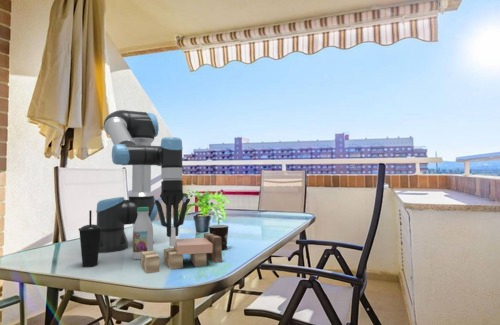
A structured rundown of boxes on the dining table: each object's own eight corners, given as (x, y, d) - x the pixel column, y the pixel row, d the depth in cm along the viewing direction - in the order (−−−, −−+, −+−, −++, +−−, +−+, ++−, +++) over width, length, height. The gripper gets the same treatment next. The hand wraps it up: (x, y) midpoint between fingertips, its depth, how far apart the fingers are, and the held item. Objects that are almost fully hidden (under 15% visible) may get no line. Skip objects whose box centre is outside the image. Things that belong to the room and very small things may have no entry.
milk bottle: (144, 254, 130) (144, 206, 131) (157, 256, 126) (157, 206, 127) (128, 258, 123) (128, 207, 124) (141, 260, 119) (141, 208, 120)
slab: (173, 246, 118) (173, 238, 118) (204, 245, 122) (205, 237, 122) (177, 254, 105) (177, 245, 105) (212, 252, 109) (212, 244, 109)
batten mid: (163, 262, 115) (163, 248, 115) (174, 261, 117) (174, 247, 117) (171, 269, 105) (171, 254, 106) (182, 267, 107) (182, 253, 108)
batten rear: (141, 265, 111) (141, 251, 111) (152, 264, 113) (152, 250, 113) (146, 273, 101) (146, 257, 102) (159, 271, 103) (159, 256, 104)
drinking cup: (79, 264, 116) (80, 210, 117) (102, 262, 118) (102, 209, 120) (76, 269, 109) (77, 211, 110) (100, 266, 111) (100, 210, 113)
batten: (190, 259, 119) (190, 247, 119) (200, 258, 120) (200, 246, 121) (195, 266, 109) (194, 252, 109) (206, 265, 110) (206, 251, 110)
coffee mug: (219, 246, 142) (218, 224, 143) (233, 248, 137) (232, 225, 138) (199, 251, 133) (199, 227, 134) (213, 253, 128) (213, 229, 129)
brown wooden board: (204, 256, 123) (203, 233, 124) (209, 255, 124) (209, 233, 125) (215, 263, 113) (215, 237, 113) (221, 262, 114) (221, 237, 114)
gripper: (186, 179, 120) (187, 242, 118) (151, 180, 113) (151, 246, 112) (192, 179, 113) (193, 245, 111) (155, 179, 107) (156, 249, 105)
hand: (172, 245), depth 112 cm, fingers closed
